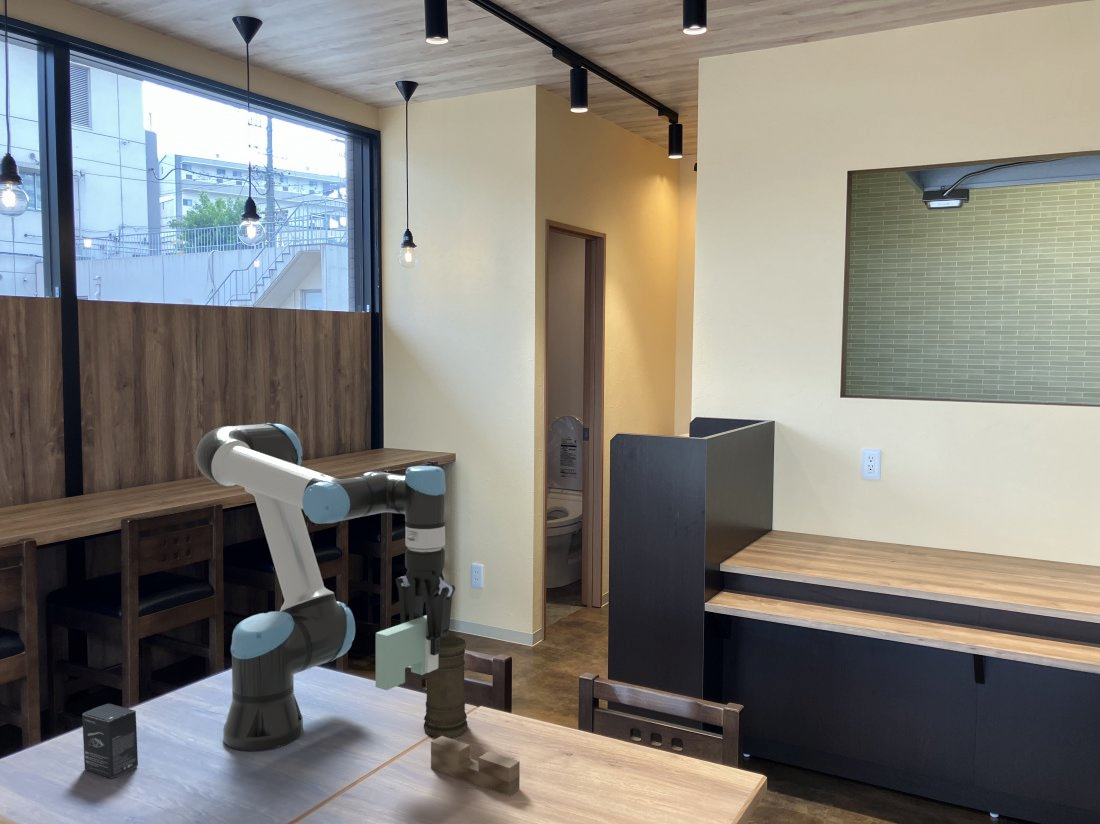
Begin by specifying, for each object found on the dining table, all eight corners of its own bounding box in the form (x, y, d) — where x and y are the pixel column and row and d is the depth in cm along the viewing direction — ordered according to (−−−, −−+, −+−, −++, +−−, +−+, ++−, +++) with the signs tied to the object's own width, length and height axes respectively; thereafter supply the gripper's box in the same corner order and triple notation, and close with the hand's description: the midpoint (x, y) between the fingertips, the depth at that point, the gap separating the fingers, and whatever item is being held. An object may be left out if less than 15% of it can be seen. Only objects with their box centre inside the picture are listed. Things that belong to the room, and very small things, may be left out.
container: (460, 740, 167) (460, 651, 166) (417, 735, 169) (417, 647, 168) (473, 721, 176) (473, 636, 175) (432, 717, 178) (432, 633, 177)
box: (138, 767, 155) (137, 709, 154) (110, 780, 150) (109, 721, 149) (111, 757, 159) (110, 701, 158) (82, 769, 154) (81, 712, 153)
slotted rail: (430, 768, 155) (430, 741, 155) (441, 761, 158) (441, 735, 157) (509, 796, 145) (509, 768, 145) (519, 789, 148) (519, 761, 147)
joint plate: (386, 690, 152) (386, 635, 151) (375, 686, 153) (375, 632, 153) (438, 667, 163) (438, 617, 163) (427, 664, 165) (428, 614, 164)
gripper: (381, 545, 162) (380, 665, 163) (443, 557, 153) (442, 683, 154) (408, 539, 168) (407, 654, 170) (469, 549, 159) (468, 671, 161)
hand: (424, 668), depth 162 cm, fingers closed on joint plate, 3 cm apart
